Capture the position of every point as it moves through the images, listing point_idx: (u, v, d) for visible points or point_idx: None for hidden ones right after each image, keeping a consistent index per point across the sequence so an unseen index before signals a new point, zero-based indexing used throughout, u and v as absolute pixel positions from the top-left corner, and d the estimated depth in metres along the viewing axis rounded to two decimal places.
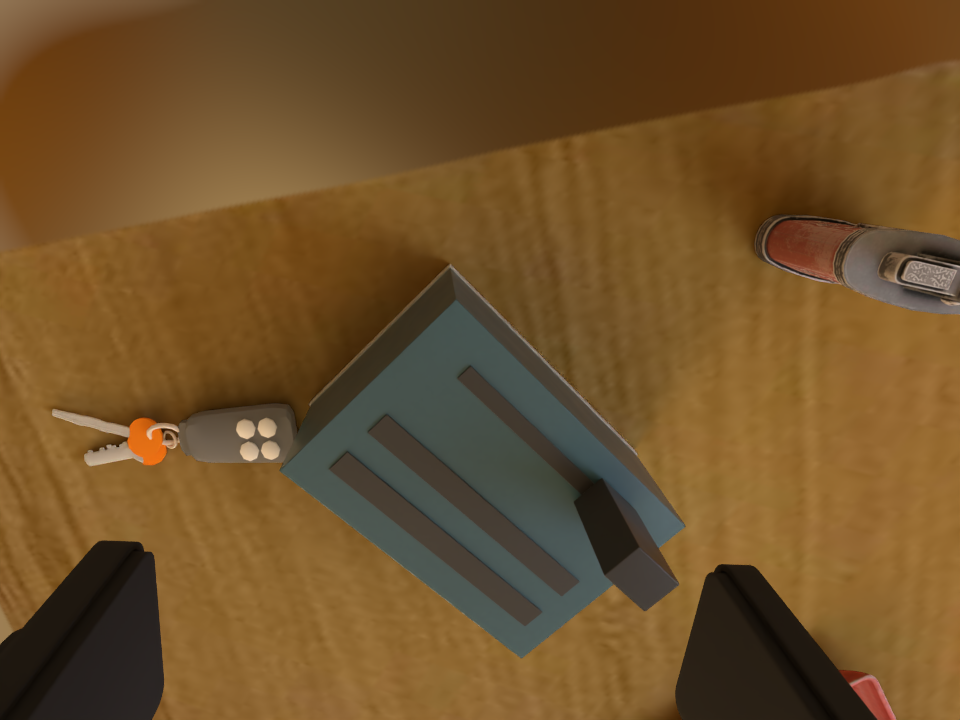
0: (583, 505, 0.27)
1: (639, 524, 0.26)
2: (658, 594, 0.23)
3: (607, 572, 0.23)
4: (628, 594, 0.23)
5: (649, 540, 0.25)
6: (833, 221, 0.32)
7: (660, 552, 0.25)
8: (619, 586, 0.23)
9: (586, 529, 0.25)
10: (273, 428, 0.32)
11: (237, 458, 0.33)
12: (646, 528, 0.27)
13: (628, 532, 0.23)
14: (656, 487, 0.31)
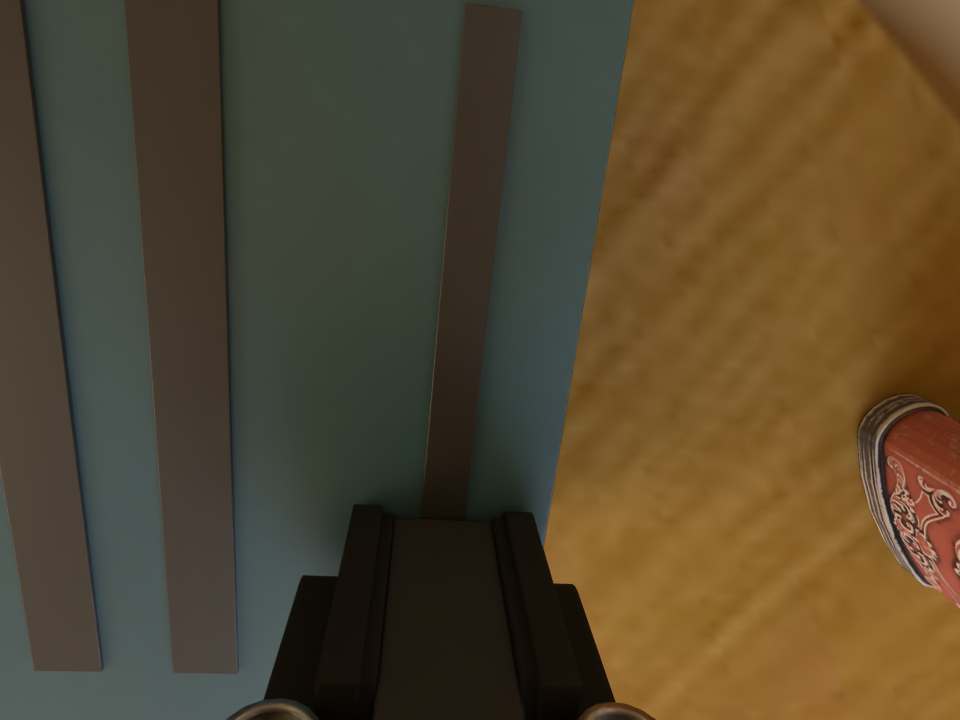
0: (414, 544, 0.10)
1: None
2: None
3: None
4: None
5: None
6: None
7: None
8: None
9: (390, 608, 0.08)
10: None
11: None
12: None
13: None
14: None
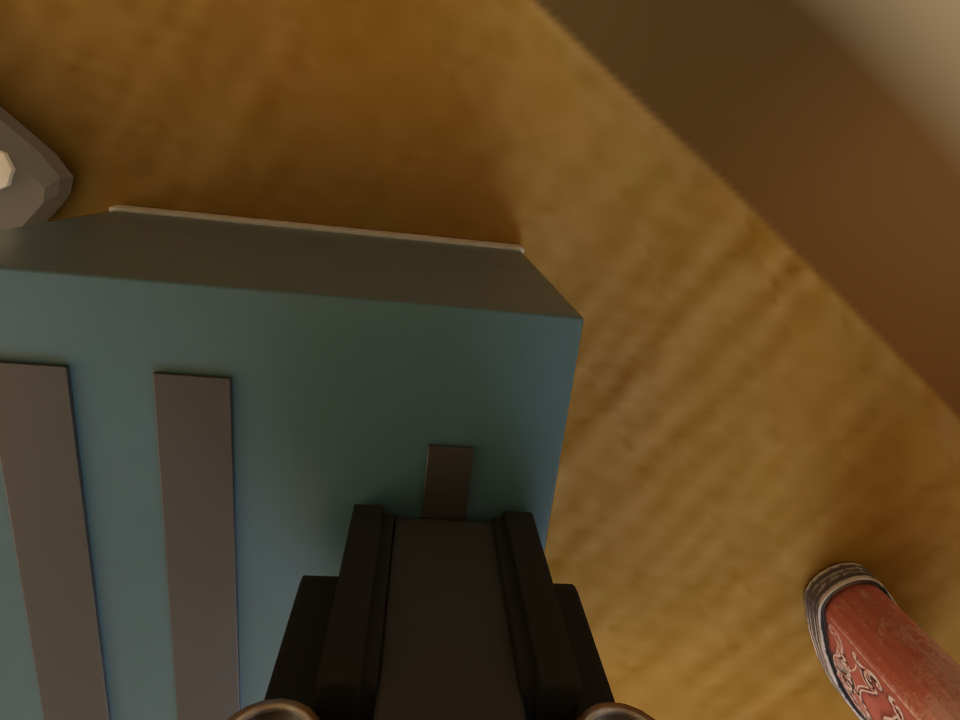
0: (416, 544, 0.10)
1: None
2: None
3: None
4: None
5: None
6: None
7: None
8: None
9: (391, 609, 0.08)
10: None
11: None
12: None
13: None
14: None
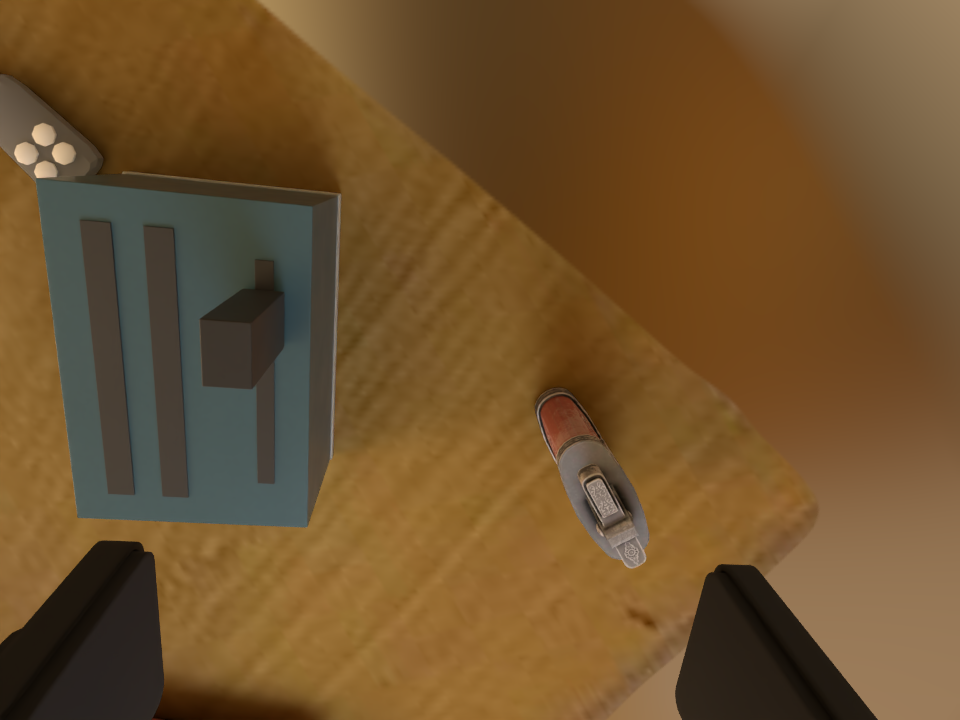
0: (247, 292, 0.25)
1: (273, 342, 0.25)
2: (227, 381, 0.22)
3: (204, 319, 0.21)
4: (203, 356, 0.21)
5: (267, 353, 0.24)
6: (594, 428, 0.38)
7: (265, 369, 0.24)
8: (202, 341, 0.21)
9: (227, 300, 0.24)
10: (68, 159, 0.30)
11: (9, 147, 0.29)
12: (276, 357, 0.25)
13: (256, 315, 0.22)
14: (317, 486, 0.33)
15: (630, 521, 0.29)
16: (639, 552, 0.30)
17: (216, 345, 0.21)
